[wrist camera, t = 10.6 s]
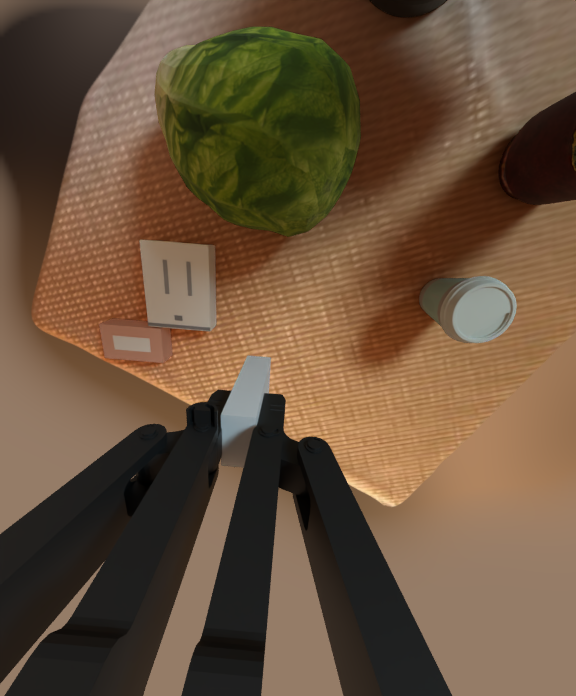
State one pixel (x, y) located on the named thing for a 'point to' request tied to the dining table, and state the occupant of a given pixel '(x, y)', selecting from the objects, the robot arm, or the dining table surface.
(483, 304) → the coffee cup
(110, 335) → the stub
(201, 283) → the two-slot toaster
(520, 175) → the vase
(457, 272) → the dining table surface
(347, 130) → the lettuce
